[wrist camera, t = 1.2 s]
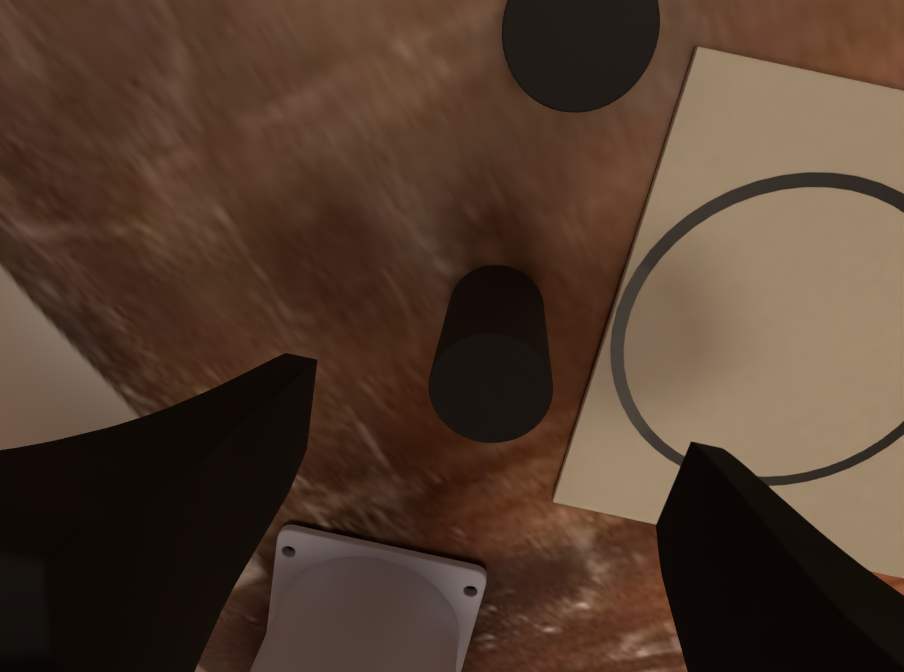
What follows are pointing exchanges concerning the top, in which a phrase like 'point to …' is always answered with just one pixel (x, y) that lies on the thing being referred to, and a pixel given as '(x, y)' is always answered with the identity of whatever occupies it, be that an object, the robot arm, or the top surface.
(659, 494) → the sheet
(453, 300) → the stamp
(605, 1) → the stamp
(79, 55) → the top surface
